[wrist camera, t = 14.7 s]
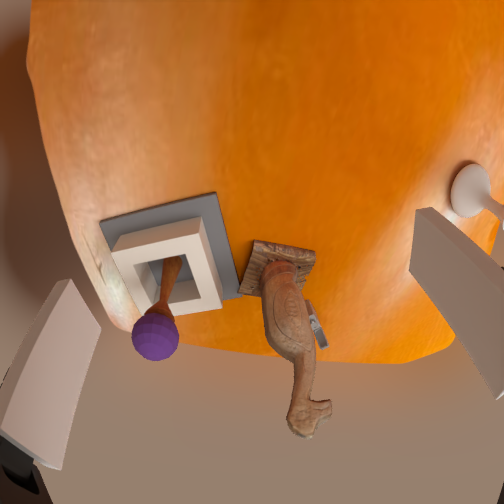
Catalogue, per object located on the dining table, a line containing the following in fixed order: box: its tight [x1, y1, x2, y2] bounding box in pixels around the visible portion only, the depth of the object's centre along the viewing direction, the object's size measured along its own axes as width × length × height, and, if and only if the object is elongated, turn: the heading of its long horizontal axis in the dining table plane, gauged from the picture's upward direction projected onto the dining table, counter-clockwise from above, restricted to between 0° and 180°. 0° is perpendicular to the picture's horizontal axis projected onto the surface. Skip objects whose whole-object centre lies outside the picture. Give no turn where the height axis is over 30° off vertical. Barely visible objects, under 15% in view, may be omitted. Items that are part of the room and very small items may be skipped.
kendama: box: [132, 255, 183, 361], centre depth 41 cm, size 6×6×20 cm
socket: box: [99, 192, 242, 316], centre depth 47 cm, size 20×20×6 cm
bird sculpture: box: [237, 240, 332, 439], centre depth 40 cm, size 11×12×32 cm
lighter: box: [305, 300, 329, 350], centre depth 56 cm, size 7×2×8 cm, turn 29°
